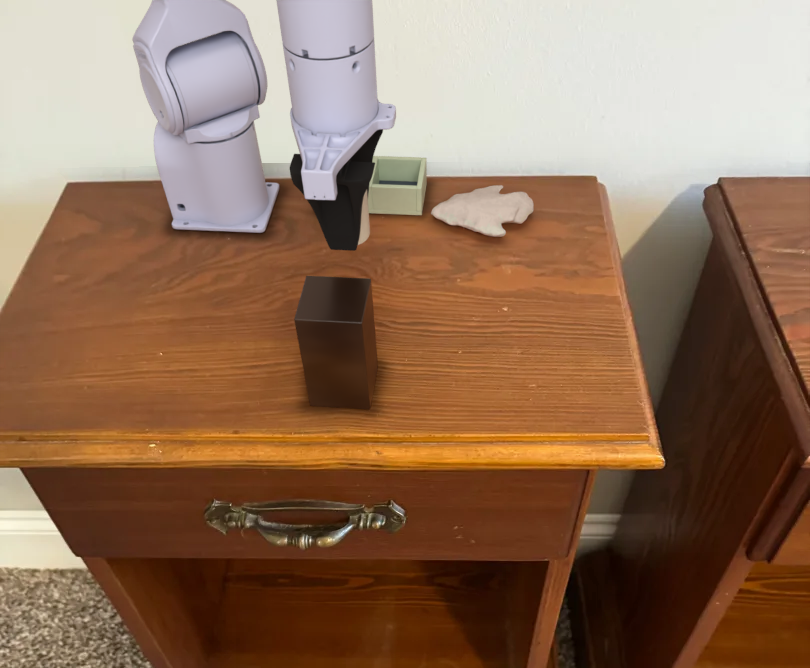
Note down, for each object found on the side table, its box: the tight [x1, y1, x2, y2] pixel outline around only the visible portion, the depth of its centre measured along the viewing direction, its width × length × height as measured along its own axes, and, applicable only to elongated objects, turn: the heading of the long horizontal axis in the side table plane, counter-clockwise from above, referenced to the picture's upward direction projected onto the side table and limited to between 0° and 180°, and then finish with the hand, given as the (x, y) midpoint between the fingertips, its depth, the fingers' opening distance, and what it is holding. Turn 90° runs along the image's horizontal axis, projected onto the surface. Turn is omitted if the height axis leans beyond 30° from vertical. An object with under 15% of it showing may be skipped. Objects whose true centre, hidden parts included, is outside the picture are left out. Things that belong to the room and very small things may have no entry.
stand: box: [293, 275, 379, 410], centre depth 61 cm, size 5×5×9 cm
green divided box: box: [368, 155, 428, 216], centre depth 78 cm, size 10×5×3 cm, turn 84°
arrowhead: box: [430, 184, 534, 238], centre depth 76 cm, size 8×3×10 cm
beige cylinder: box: [358, 190, 371, 246], centre depth 58 cm, size 3×3×4 cm
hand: (347, 231), depth 59 cm, fingers closed on beige cylinder, 3 cm apart
